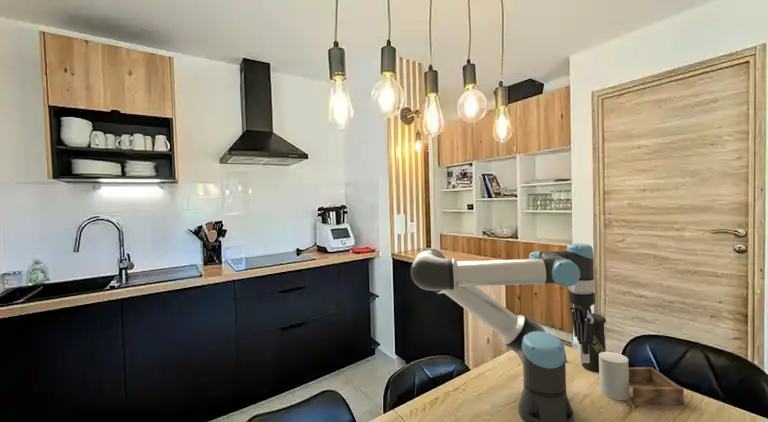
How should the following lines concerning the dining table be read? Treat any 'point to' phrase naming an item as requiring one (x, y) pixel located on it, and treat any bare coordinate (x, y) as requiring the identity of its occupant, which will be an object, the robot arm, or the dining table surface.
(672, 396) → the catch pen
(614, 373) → the white cylinder
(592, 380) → the dining table surface
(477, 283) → the robot arm
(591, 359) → the container
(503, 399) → the dining table surface
